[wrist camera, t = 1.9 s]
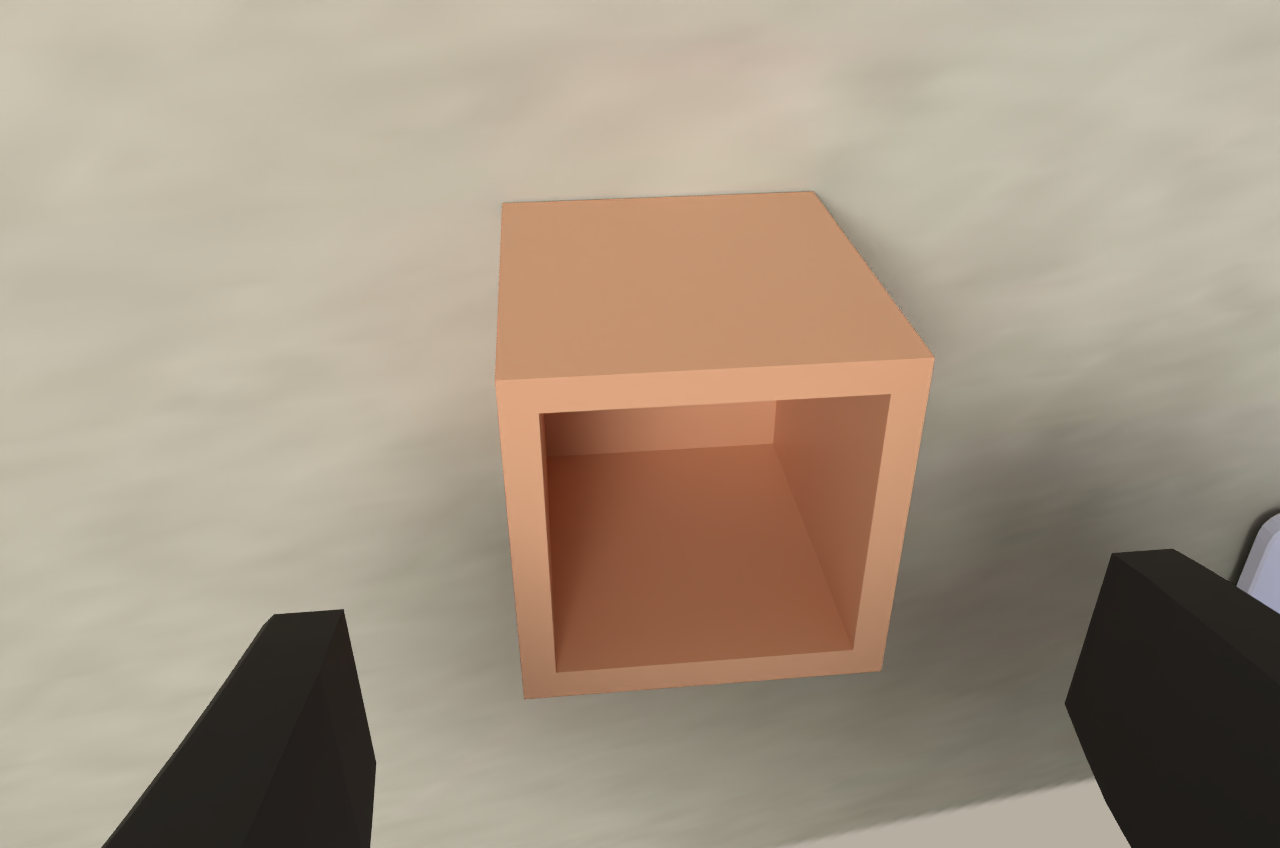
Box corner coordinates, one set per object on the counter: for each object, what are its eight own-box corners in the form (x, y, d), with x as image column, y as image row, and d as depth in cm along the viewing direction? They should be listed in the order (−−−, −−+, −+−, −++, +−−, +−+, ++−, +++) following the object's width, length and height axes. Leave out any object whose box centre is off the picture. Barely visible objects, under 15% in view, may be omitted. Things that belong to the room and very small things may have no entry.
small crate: (812, 191, 14) (934, 357, 10) (789, 449, 17) (880, 671, 13) (502, 202, 14) (495, 380, 10) (522, 465, 16) (523, 699, 12)
